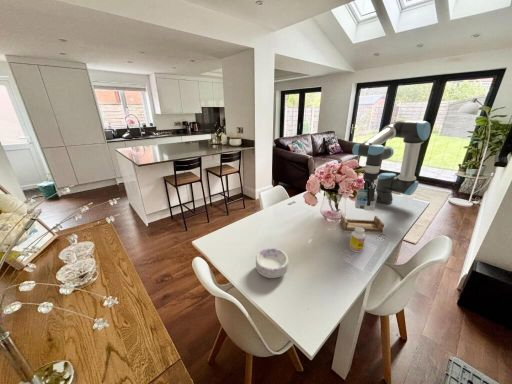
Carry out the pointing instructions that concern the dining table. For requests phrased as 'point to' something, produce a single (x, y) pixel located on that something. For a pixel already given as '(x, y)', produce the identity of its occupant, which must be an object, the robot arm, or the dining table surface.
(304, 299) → the dining table surface
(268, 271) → the white marbled bowl
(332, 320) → the dining table surface
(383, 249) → the dining table surface
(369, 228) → the tray
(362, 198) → the light bulb box
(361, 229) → the supplement bottle
